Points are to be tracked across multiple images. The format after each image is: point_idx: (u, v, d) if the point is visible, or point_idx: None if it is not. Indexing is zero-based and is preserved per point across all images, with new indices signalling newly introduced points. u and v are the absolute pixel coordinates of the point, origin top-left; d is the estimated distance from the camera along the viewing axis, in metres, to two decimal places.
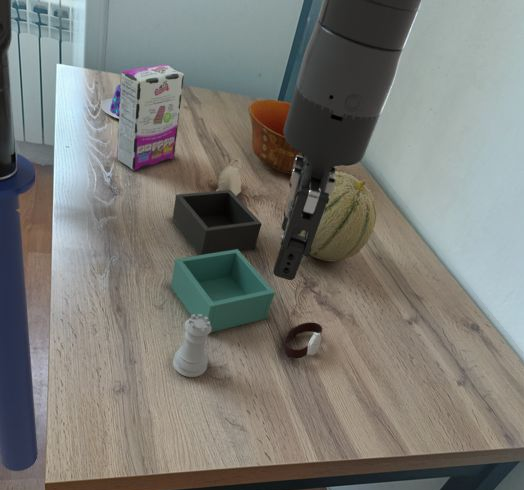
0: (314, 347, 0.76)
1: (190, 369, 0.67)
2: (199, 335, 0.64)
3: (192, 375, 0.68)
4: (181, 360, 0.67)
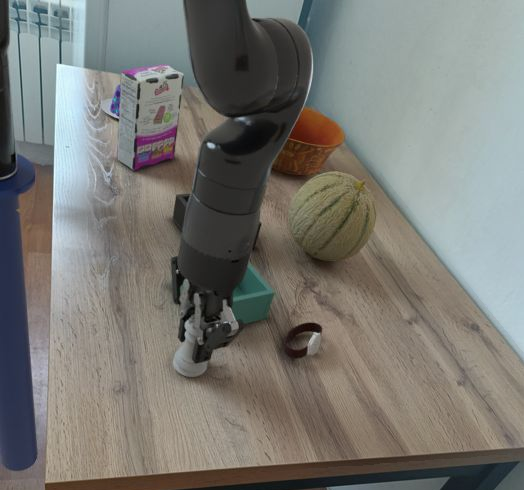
0: (314, 347, 0.76)
1: (190, 369, 0.67)
2: None
3: (192, 375, 0.68)
4: (181, 360, 0.67)
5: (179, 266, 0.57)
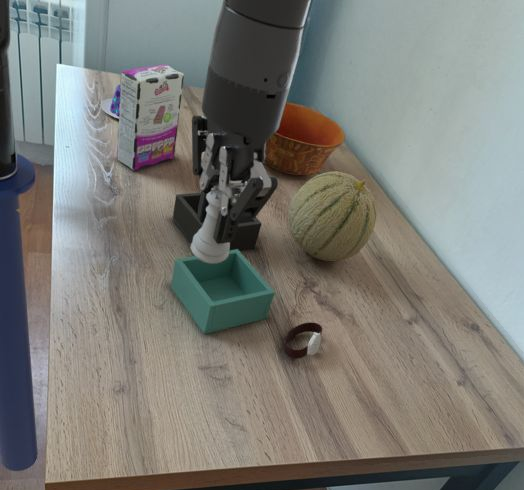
0: (315, 347, 0.76)
1: (211, 252, 0.59)
2: None
3: (212, 260, 0.60)
4: (200, 242, 0.59)
5: (204, 108, 0.49)
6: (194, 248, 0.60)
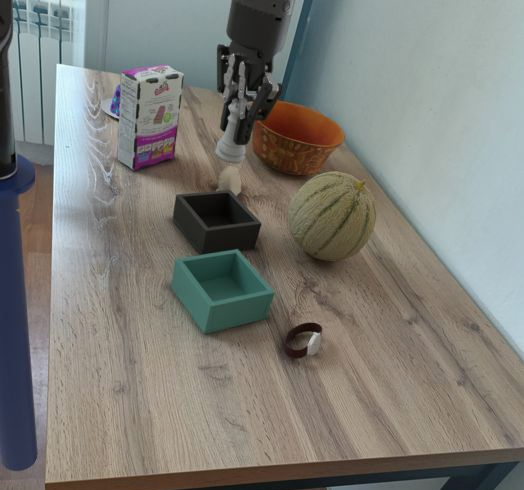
0: (314, 347, 0.76)
1: (231, 153, 0.77)
2: None
3: (232, 160, 0.77)
4: (223, 145, 0.77)
5: (228, 31, 0.66)
6: (218, 151, 0.78)
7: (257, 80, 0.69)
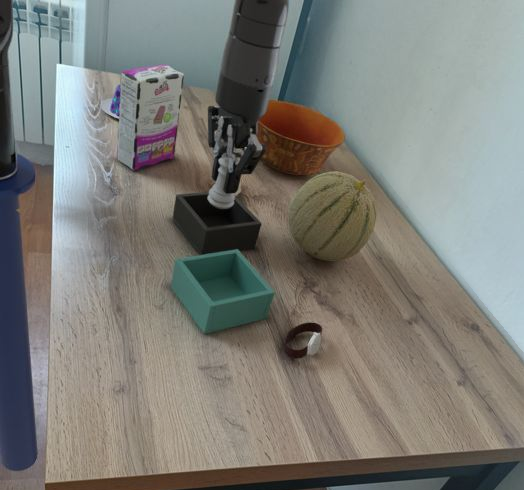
0: (314, 347, 0.76)
1: (221, 200, 0.86)
2: None
3: (223, 206, 0.86)
4: (214, 193, 0.86)
5: (217, 99, 0.75)
6: (210, 198, 0.87)
7: (243, 140, 0.78)
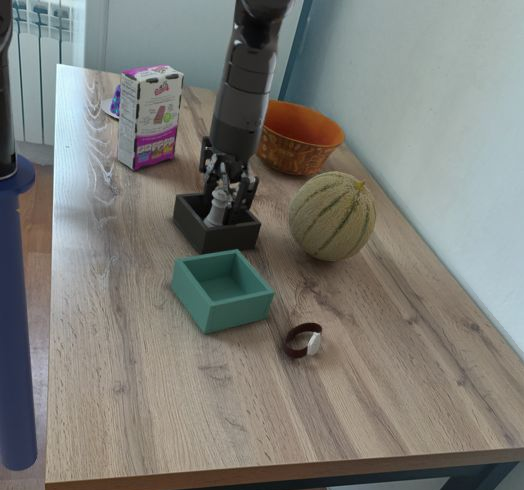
0: (315, 347, 0.76)
1: None
2: (223, 200, 0.86)
3: None
4: (208, 223, 0.89)
5: (211, 139, 0.79)
6: None
7: (235, 177, 0.81)
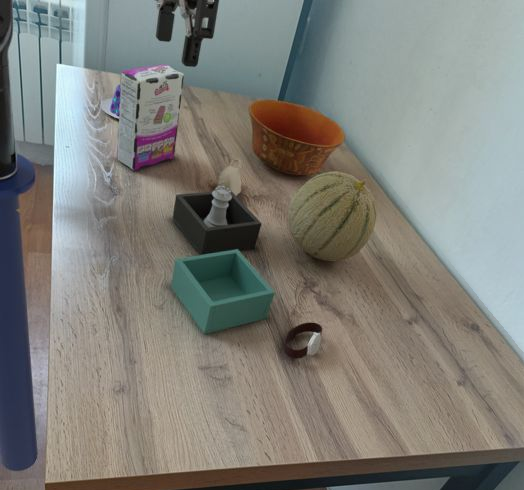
0: (314, 347, 0.76)
1: None
2: (223, 200, 0.86)
3: None
4: (208, 223, 0.89)
5: None
6: None
7: None
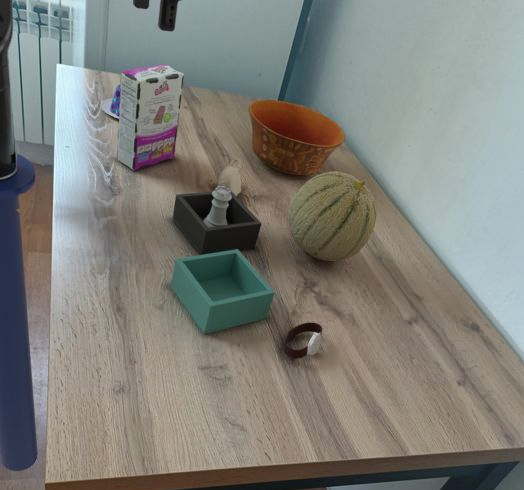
0: (315, 347, 0.76)
1: None
2: (223, 200, 0.86)
3: None
4: (208, 223, 0.89)
5: None
6: None
7: None
